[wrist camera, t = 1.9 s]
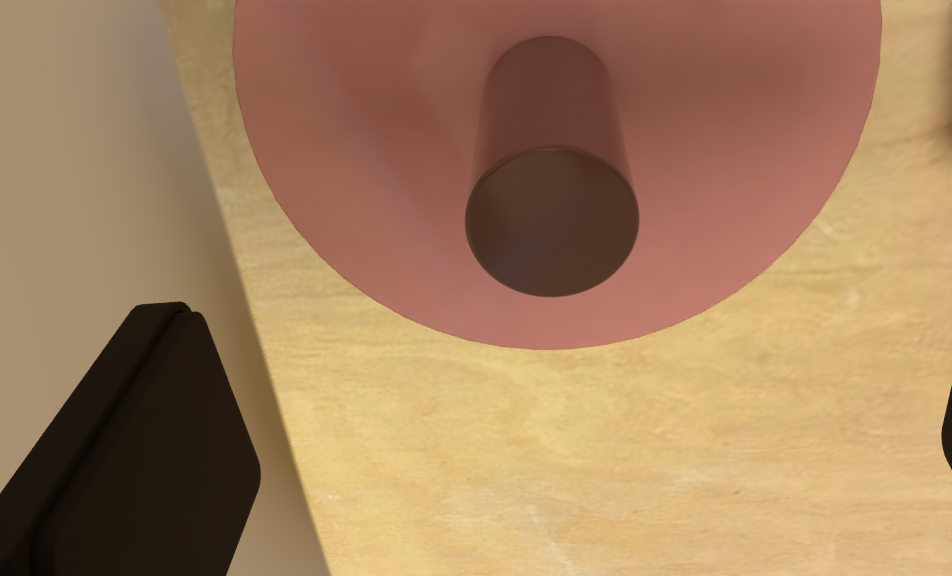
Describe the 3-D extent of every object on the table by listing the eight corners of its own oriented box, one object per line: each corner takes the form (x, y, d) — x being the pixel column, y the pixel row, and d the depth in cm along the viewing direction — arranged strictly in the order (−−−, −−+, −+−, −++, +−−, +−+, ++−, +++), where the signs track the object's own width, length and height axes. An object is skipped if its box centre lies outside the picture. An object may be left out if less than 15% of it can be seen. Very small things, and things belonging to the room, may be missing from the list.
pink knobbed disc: (325, 340, 23) (259, 530, 18) (162, -223, 16) (-35, -198, 11) (830, 304, 22) (931, 501, 16) (908, -343, 14) (1142, -387, 9)
